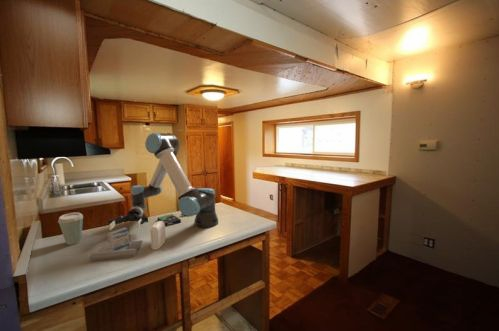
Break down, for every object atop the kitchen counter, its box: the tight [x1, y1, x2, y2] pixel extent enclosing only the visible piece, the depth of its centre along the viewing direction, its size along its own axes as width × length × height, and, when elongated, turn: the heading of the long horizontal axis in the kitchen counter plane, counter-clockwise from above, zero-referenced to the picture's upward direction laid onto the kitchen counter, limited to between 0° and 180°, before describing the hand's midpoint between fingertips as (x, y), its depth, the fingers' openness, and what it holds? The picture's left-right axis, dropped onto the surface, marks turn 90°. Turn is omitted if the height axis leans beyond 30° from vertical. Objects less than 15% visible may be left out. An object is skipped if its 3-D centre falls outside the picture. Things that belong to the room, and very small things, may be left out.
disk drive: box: [156, 214, 182, 227], centre depth 151 cm, size 10×3×15 cm
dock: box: [90, 240, 143, 262], centre depth 111 cm, size 18×15×3 cm
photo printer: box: [150, 221, 166, 251], centre depth 116 cm, size 10×4×12 cm, turn 179°
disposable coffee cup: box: [57, 212, 84, 246], centre depth 120 cm, size 11×11×15 cm
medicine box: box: [107, 227, 130, 251], centre depth 111 cm, size 8×4×9 cm, turn 149°
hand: (124, 226), depth 119 cm, fingers open, 13 cm apart
